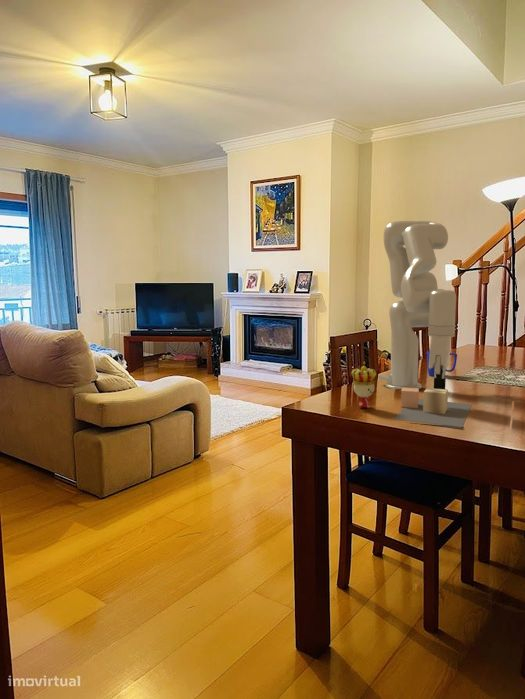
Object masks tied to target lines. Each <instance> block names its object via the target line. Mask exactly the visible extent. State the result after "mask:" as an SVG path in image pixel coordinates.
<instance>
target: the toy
mask: <svg viewBox="0 0 525 699" xmlns="http://www.w3.org/2000/svg"><path fill="white" fill-rule="evenodd" d="M363 364H364V365H363V366H361V368H354V369H353V370H352V371H351V376H352V378H353V381H352V384H353V392H354V393H355V395H356V396H358V397H360V398H361V399H360V400H359V401H358V402H357V403H358V407H360V410H366V409H367V408H369V407H370V404H369V403H370V401H371V398H370V396H371V395H373V393H374V391H375V377H376V376H377V372H376V370H375V369H374V368H373V369H372V368H367V366H366V365H365V364H366V362H365V360H364V361H363Z"/></svg>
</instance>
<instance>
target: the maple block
mask: <svg viewBox="0 0 525 699" xmlns="http://www.w3.org/2000/svg"><path fill="white" fill-rule="evenodd" d="M422 397H423V399H422V400H423V412H430V413H440V414H445V412H446V411H447V405H448V402H449V399H448V398H449V389H448V388H447V389H446V388H445V389H435V388H434V387H426V388H425V390H424V391H423V396H422Z"/></svg>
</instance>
